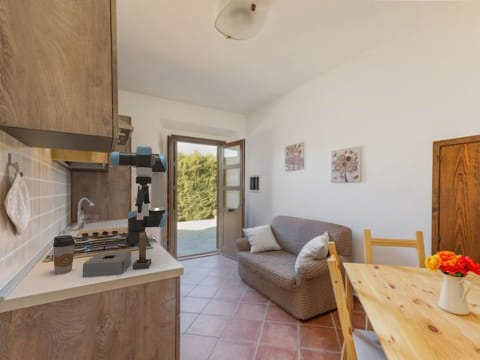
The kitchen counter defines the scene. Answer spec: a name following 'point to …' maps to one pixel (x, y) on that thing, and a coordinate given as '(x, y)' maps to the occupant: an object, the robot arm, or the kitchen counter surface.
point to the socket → (141, 265)
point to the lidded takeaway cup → (61, 238)
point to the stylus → (142, 247)
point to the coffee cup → (63, 255)
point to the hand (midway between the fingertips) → (143, 217)
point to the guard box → (107, 264)
